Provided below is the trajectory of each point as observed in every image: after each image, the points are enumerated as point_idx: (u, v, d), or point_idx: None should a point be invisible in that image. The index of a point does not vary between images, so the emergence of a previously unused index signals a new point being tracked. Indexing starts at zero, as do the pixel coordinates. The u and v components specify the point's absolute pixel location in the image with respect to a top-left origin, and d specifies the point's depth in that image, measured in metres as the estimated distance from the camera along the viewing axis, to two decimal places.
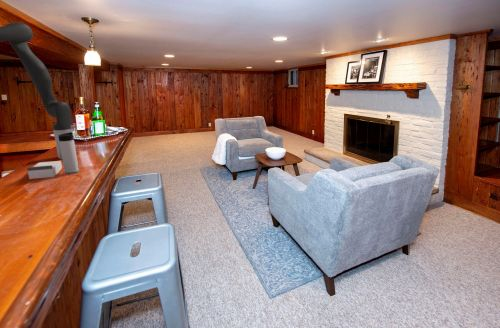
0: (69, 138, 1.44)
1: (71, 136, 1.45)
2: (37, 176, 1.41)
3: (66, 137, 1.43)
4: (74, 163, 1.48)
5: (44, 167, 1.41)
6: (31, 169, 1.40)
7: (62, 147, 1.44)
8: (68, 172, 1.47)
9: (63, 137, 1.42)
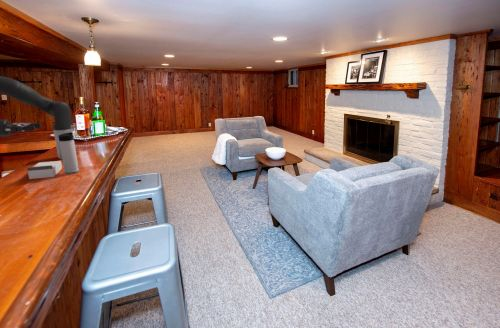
0: (69, 138, 1.44)
1: (71, 136, 1.45)
2: (37, 176, 1.41)
3: (66, 137, 1.43)
4: (74, 163, 1.48)
5: (44, 167, 1.41)
6: (31, 169, 1.40)
7: (62, 147, 1.44)
8: (68, 172, 1.47)
9: (63, 137, 1.42)
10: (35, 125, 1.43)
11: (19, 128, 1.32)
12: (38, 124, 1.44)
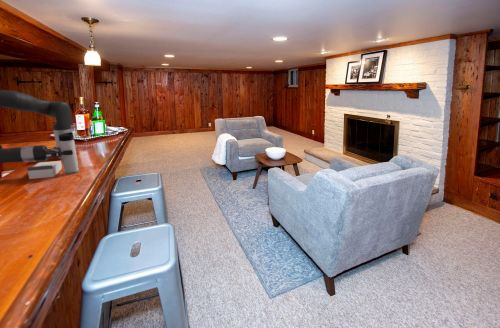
0: (69, 138, 1.44)
1: (71, 136, 1.45)
2: (37, 176, 1.41)
3: (66, 137, 1.43)
4: (74, 162, 1.48)
5: (44, 167, 1.41)
6: (31, 169, 1.40)
7: (62, 147, 1.44)
8: (68, 172, 1.47)
9: (63, 137, 1.42)
10: None
11: (59, 153, 1.41)
12: None
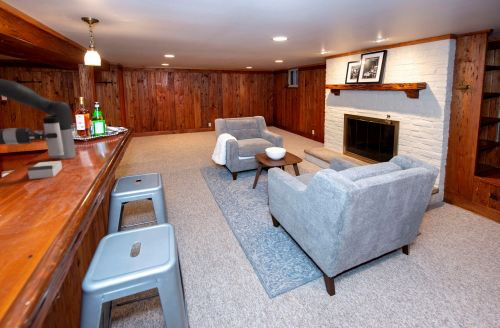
0: (54, 121, 1.40)
1: (56, 119, 1.41)
2: (37, 176, 1.41)
3: (51, 119, 1.39)
4: (59, 146, 1.44)
5: (44, 167, 1.41)
6: (31, 169, 1.40)
7: (46, 130, 1.40)
8: (52, 156, 1.43)
9: (47, 119, 1.39)
10: None
11: (43, 136, 1.37)
12: None
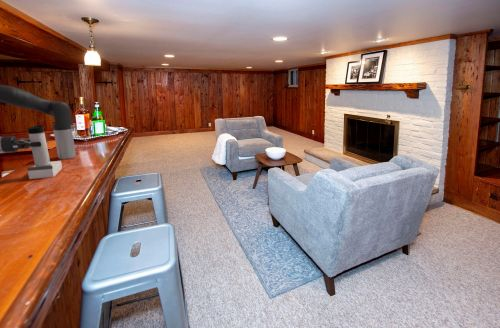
0: (39, 130, 1.40)
1: (41, 129, 1.41)
2: (37, 176, 1.41)
3: (35, 129, 1.39)
4: (45, 156, 1.44)
5: (44, 167, 1.41)
6: (31, 169, 1.40)
7: (31, 140, 1.40)
8: None
9: (32, 129, 1.39)
10: None
11: (26, 145, 1.36)
12: None
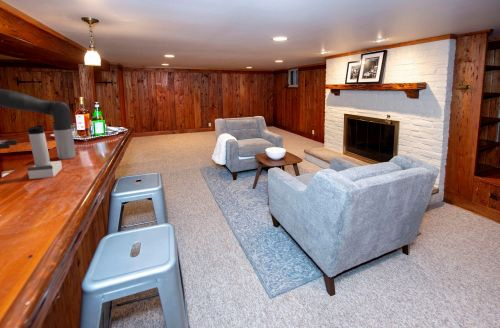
0: (39, 131, 1.40)
1: (41, 129, 1.41)
2: (37, 176, 1.41)
3: (35, 130, 1.39)
4: (45, 156, 1.44)
5: (44, 167, 1.41)
6: (31, 169, 1.40)
7: (32, 140, 1.40)
8: None
9: (32, 130, 1.38)
10: (11, 142, 1.43)
11: None
12: (14, 141, 1.43)
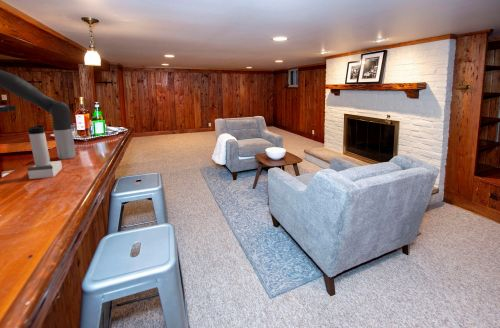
0: (39, 131, 1.40)
1: (41, 129, 1.41)
2: (37, 176, 1.41)
3: (36, 130, 1.39)
4: (45, 156, 1.44)
5: (44, 167, 1.41)
6: (31, 169, 1.40)
7: (32, 140, 1.40)
8: None
9: (33, 130, 1.39)
10: (10, 107, 1.44)
11: None
12: (13, 106, 1.45)
